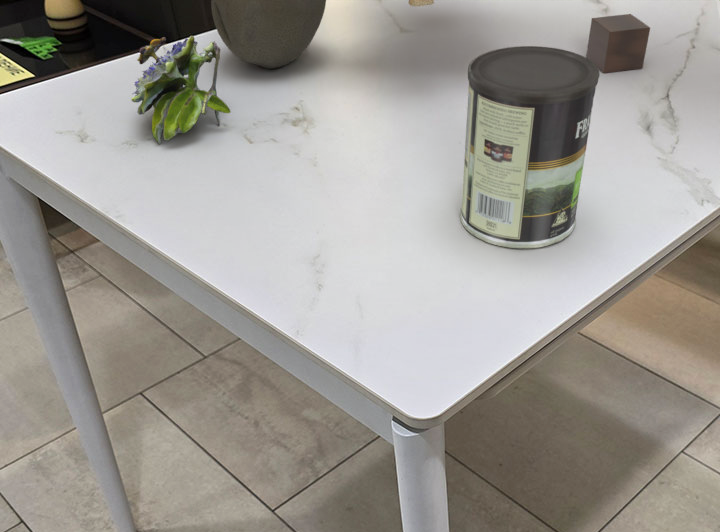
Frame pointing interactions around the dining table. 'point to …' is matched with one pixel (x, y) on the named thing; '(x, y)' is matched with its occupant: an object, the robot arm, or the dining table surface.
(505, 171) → the coffee can
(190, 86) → the passion flower
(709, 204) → the dining table surface
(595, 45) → the walnut block
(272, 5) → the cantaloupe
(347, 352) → the dining table surface
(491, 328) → the dining table surface
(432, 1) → the grandmother figurine
